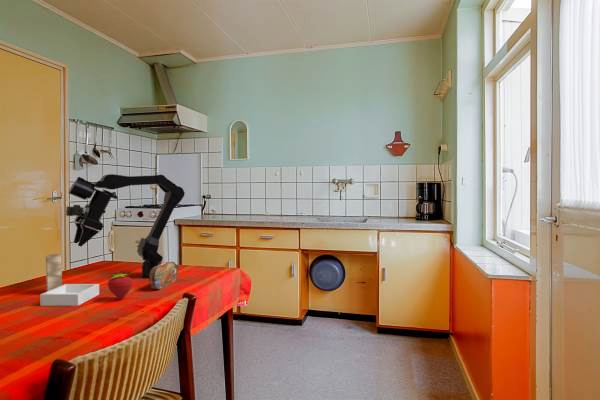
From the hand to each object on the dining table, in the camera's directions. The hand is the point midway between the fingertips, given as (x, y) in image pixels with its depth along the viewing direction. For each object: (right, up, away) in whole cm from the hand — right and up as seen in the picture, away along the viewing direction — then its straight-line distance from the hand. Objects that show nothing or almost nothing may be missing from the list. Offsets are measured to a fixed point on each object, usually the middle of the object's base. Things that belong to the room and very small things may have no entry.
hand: (77, 244), depth 127 cm
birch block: (-5, -16, -5) cm, 18 cm away
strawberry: (+22, -17, -12) cm, 30 cm away
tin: (+30, -16, +4) cm, 34 cm away
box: (+6, -16, -12) cm, 21 cm away
